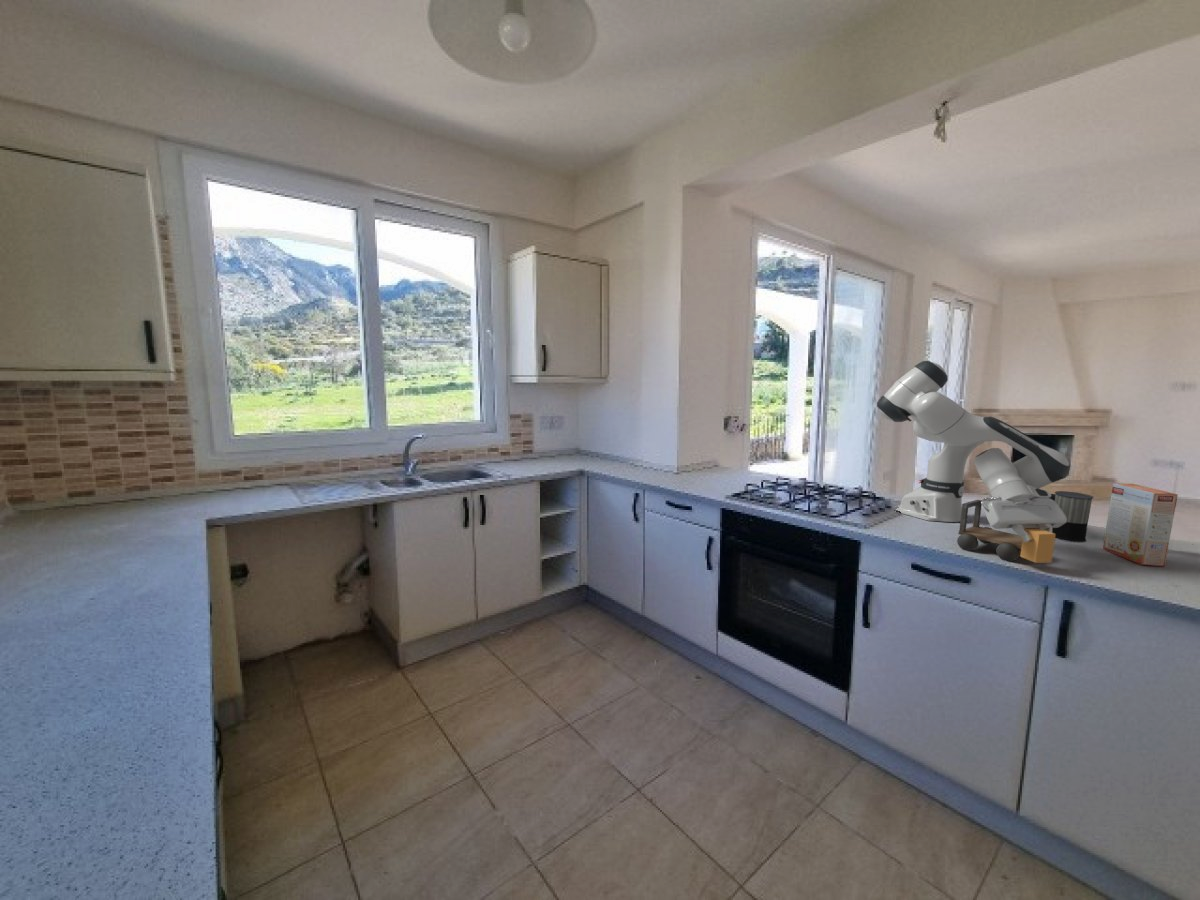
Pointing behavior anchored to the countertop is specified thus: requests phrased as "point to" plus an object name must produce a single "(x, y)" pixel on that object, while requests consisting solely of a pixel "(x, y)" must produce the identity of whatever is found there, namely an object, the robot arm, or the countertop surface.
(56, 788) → the countertop surface
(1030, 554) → the block
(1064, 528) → the milk frother
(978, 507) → the trolley
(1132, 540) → the cracker box
